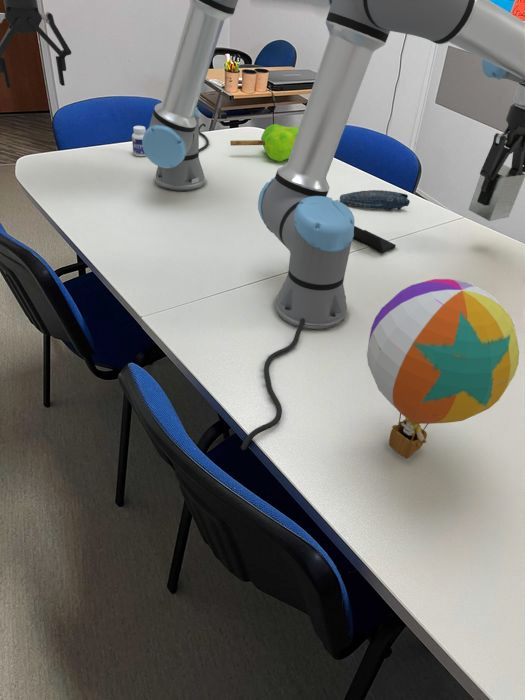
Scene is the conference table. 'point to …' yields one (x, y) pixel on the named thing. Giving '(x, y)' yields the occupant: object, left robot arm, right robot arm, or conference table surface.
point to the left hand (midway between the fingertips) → (35, 85)
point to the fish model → (376, 199)
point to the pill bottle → (138, 140)
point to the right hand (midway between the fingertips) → (492, 201)
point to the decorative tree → (274, 141)
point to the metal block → (498, 194)
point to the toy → (440, 356)
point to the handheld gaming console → (372, 240)
